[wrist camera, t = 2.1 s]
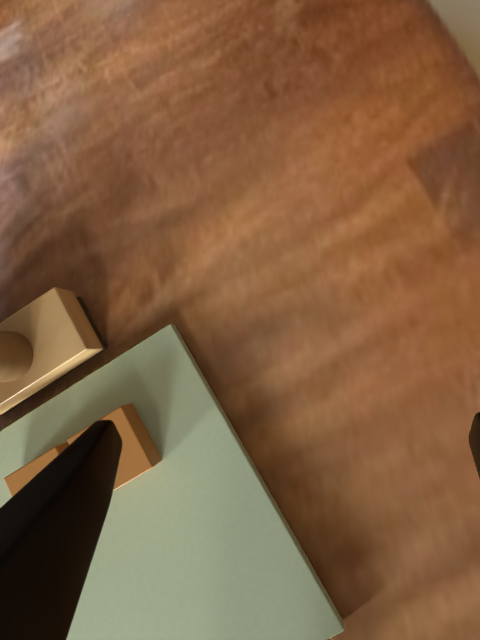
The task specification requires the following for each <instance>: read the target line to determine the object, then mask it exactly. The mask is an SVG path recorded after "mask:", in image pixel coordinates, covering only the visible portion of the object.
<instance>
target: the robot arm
mask: <svg viewBox="0 0 480 640" xmlns="http://www.w3.org/2000/svg"><path fill="white" fill-rule="evenodd" d="M469 444H470V448H471V451H472V455H473V458H474V462H475V465H476V468H477V472H478V475H479V479H480V412H478V413H476V414H475V416H474V419H473V423H472V426H471V429H470V433H469ZM122 445H123V444H122V438H121V436H120V434H119V432H118V430H117V428H116V426H115V423H114V422H113V421H112V420H97V421H95V422H94V423H93V424H92V425H91V426H90V427H89V428H87V429H86V430H85V431H84V432H83V433H82V434H81V435H80V436H79V437H78V438H76V439H75V440H74V441H73V442H72V443H71V444H70V445H69V446H68V447H67V448H65V449H64V450H63V451H62V452H61V453H60V454H59V455H58V456H57V457H56V458H54V459H53V460H52V461H51V462H50V463H49V464H48V465H47V466H46V467H45V468H43V469H42V470H41V471H40V472H39V473H38V474H37V475H36V476H35V477H34V478H32V479H31V480H30V481H29V482H28V483H27V484H26V485H25V486H24V487H23V488H21V489H20V490H19V491H18V492H17V493H16V494H15V495H14V496H13V497H12V498H10V499H9V500H8V501H7V502H6V503H5V504H4V505H3V506H2V507H1V508H0V640H66V639H67V636H68V633H69V630H70V627H71V624H72V621H73V618H74V615H75V612H76V608H77V605H78V602H79V599H80V596H81V593H82V590H83V587H84V584H85V581H86V578H87V574H88V571H89V568H90V565H91V562H92V559H93V556H94V553H95V550H96V547H97V543H98V540H99V537H100V534H101V531H102V528H103V525H104V522H105V519H106V516H107V513H108V509H109V506H110V502H111V498H112V494H113V489H114V485H115V480H116V475H117V470H118V466H119V461H120V456H121V452H122Z"/></svg>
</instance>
